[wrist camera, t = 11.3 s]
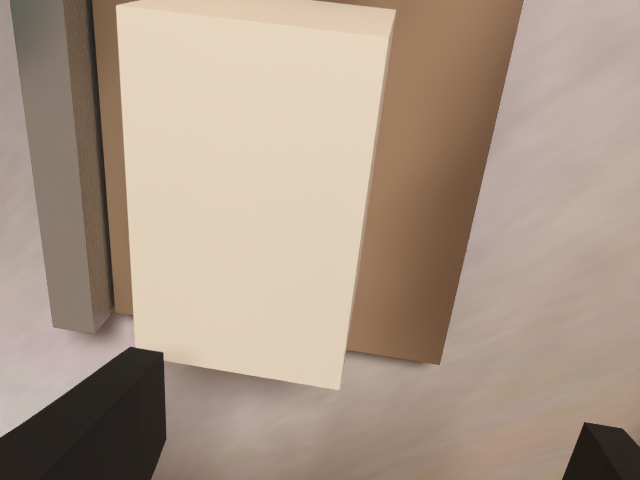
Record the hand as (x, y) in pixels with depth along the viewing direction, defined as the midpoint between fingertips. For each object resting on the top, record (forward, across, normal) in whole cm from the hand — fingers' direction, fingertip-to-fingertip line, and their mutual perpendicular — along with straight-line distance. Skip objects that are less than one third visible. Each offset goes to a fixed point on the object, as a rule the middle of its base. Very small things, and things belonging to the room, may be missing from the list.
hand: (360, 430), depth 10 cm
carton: (+8, +3, -2) cm, 9 cm away
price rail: (+9, +9, -2) cm, 13 cm away
